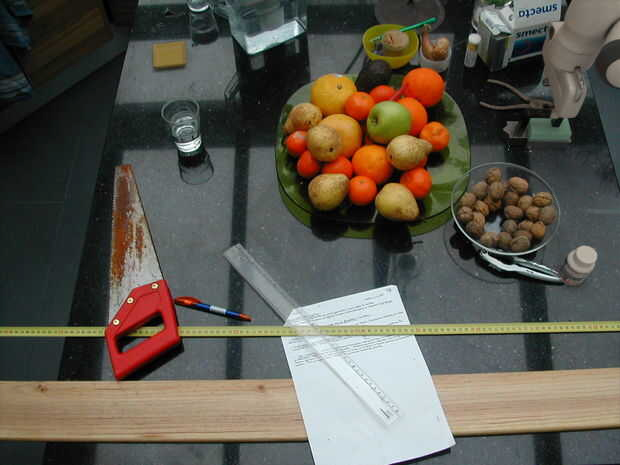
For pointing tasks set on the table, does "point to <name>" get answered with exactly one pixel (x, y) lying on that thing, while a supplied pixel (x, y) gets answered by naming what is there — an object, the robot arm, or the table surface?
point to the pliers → (532, 102)
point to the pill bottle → (577, 265)
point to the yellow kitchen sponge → (169, 54)
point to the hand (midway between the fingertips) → (549, 99)
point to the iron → (537, 131)
